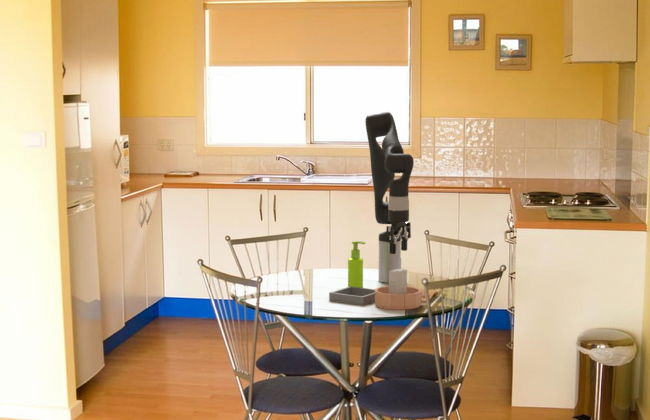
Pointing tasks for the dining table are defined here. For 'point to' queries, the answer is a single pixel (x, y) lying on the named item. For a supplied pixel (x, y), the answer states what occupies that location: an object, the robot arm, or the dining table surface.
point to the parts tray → (353, 295)
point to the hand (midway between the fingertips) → (398, 252)
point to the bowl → (397, 299)
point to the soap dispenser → (355, 267)
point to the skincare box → (398, 281)
